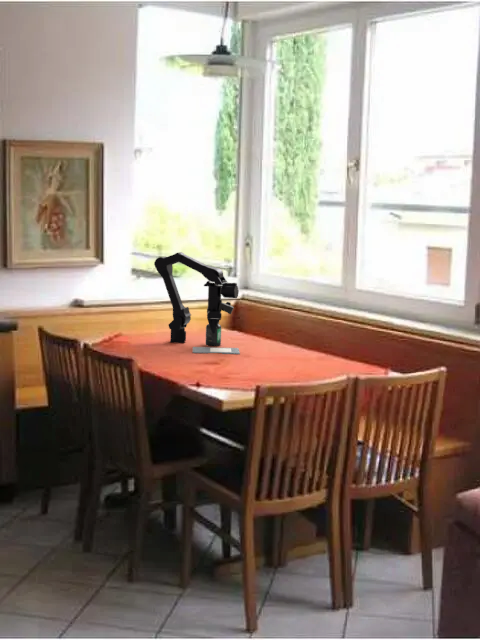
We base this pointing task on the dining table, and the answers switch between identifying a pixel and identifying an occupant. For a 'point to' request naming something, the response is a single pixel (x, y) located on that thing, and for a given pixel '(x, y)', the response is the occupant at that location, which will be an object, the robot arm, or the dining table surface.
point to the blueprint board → (216, 350)
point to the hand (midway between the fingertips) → (213, 331)
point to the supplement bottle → (213, 336)
